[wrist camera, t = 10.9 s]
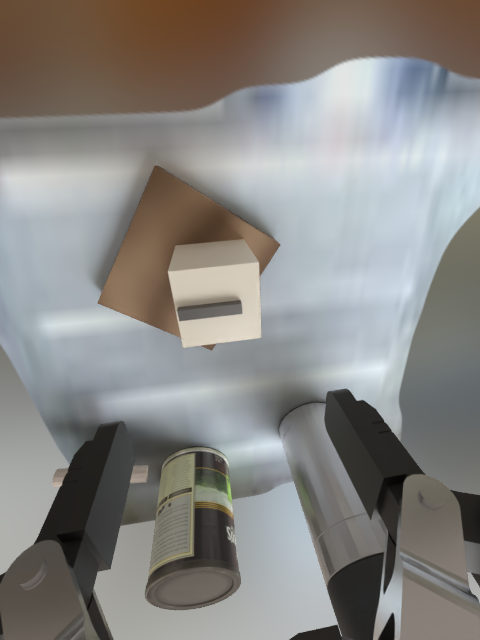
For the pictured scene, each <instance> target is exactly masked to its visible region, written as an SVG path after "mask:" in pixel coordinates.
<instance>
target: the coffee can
mask: <svg viewBox="0 0 480 640" xmlns="http://www.w3.org/2000/svg"><path fill="white" fill-rule="evenodd" d="M240 584H241V578H240V572H239V569H238V560H237V549H236V538H235V529H234V519H233V509H232V499H231V488H230V478H229V463H228V460H227V459H226V457H225V456H224V455H223V454H222V453H220V452H219V451H217V450H214V449H211V448H206V447H191V448H186V449H183V450H180V451H178V452H176V453H174V454H172V455H171V456H169V457H168V458H167V460H165V462H164V463H163V465H162V469H161V481H160V490H159V498H158V506H157V513H156V522H155V530H154V538H153V545H152V553H151V561H150V569H149V577H148V583H147V586H146V590H145V598H146V600H147V601H148V602H149V603H150V604H152V605H154V606H156V607H159V608H163V609H169V610H187V609H196V608H201V607H205V606H209V605H212V604H215V603H217V602H220V601H222V600H224V599H226V598H228V597H229V596H231V595H232V594H233V593H234V592H236V591H237V589H238V588H239V587H240Z"/></svg>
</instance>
